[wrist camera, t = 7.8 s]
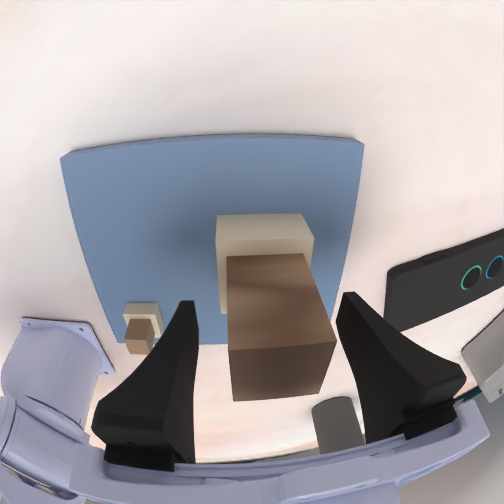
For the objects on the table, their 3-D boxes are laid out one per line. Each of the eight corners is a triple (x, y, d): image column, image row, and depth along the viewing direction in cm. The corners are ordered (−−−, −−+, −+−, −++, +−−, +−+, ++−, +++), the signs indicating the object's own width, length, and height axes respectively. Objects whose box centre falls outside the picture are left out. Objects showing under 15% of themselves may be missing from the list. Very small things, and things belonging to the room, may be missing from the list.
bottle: (335, 393, 33) (362, 497, 20) (359, 399, 35) (386, 491, 22) (302, 412, 35) (321, 509, 22) (328, 417, 37) (349, 504, 25)
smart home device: (514, 281, 24) (386, 339, 26) (506, 273, 26) (380, 327, 27) (531, 224, 20) (393, 276, 21) (521, 217, 21) (385, 263, 22)
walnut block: (229, 312, 17) (233, 401, 12) (226, 256, 15) (228, 349, 10) (296, 308, 17) (318, 393, 12) (303, 253, 15) (337, 340, 10)
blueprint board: (121, 330, 24) (109, 371, 20) (70, 151, 15) (31, 175, 11) (321, 324, 25) (335, 366, 21) (354, 138, 16) (391, 158, 12)
